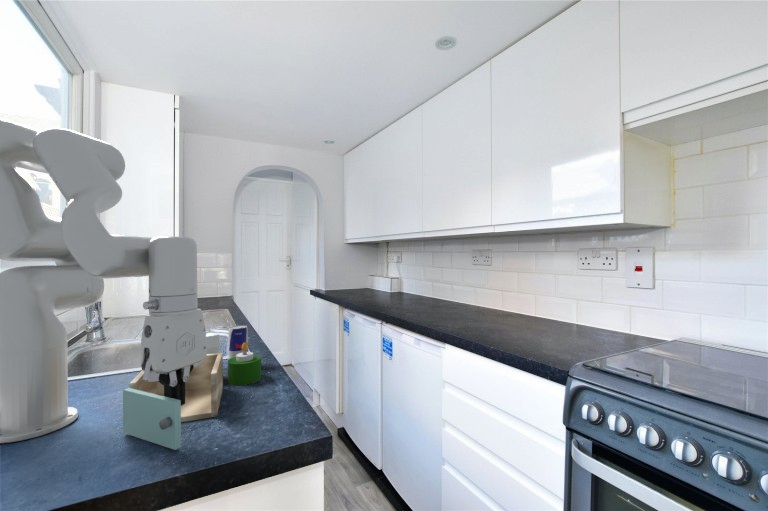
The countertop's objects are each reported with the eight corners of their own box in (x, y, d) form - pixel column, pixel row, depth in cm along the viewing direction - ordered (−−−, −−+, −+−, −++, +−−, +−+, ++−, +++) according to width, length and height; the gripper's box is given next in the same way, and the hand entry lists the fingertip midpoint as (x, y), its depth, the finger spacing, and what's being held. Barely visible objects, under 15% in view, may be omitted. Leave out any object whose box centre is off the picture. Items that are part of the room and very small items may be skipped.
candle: (233, 374, 95) (233, 339, 95) (264, 373, 96) (263, 338, 96) (223, 386, 87) (223, 347, 87) (256, 384, 88) (256, 345, 88)
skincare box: (212, 374, 95) (212, 332, 95) (220, 377, 93) (220, 334, 93) (189, 381, 90) (189, 336, 90) (197, 384, 88) (197, 338, 88)
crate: (129, 430, 65) (129, 383, 65) (152, 398, 80) (152, 360, 80) (216, 416, 70) (216, 372, 70) (223, 388, 85) (222, 352, 85)
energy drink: (241, 370, 99) (240, 329, 99) (224, 369, 100) (224, 328, 100) (251, 364, 104) (251, 325, 104) (236, 363, 105) (235, 325, 105)
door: (116, 435, 62) (115, 392, 62) (129, 430, 64) (128, 387, 64) (168, 453, 56) (168, 405, 56) (180, 446, 58) (180, 400, 58)
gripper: (147, 311, 53) (148, 428, 53) (222, 300, 67) (223, 392, 67) (115, 309, 56) (116, 420, 56) (194, 298, 70) (195, 387, 70)
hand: (174, 404), depth 62 cm, fingers closed
